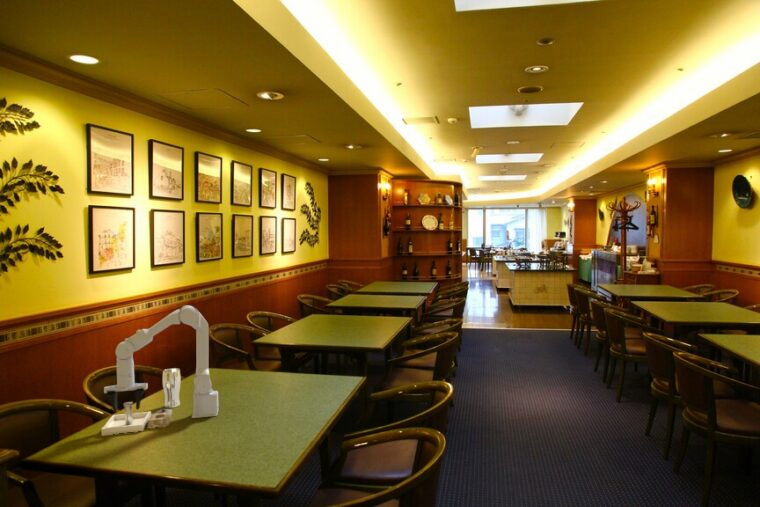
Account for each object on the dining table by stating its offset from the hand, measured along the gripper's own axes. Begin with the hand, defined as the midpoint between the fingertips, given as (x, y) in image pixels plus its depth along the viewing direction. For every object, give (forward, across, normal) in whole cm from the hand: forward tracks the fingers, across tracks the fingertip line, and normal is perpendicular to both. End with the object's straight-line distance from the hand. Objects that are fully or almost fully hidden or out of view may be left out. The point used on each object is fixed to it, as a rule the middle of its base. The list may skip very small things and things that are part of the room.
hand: (126, 409), depth 178 cm
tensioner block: (+6, +11, +2) cm, 13 cm away
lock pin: (+6, +1, 0) cm, 6 cm away
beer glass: (+7, +12, +19) cm, 24 cm away
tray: (+6, 0, 0) cm, 6 cm away
